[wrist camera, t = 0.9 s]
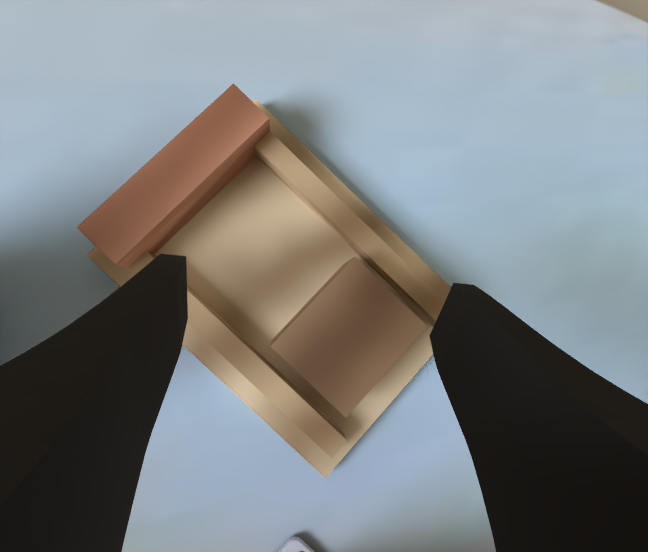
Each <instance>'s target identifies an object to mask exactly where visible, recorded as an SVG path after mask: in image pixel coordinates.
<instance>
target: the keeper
mask: <svg viewBox="0 0 648 552" xmlns="http://www.w3.org/2000/svg"><path fill="white" fill-rule="evenodd" d="M426 327H427V325H426V324H425V323H424V322H423V321H422V320H421V319H419V318H418V317H417V316H416V315H415V314H414V313H413V312H412V311H411V310H410V309H409V308H408V307H407V306H406V305H405V304H404V303H403V302H402V301H401V300H400V299H399V298H398V297H397V296H396V295H395V294H393V293H392V292H391V291H390V290H389V289H388V288H387V287H386V286H385V285H384V284H383V283H382V282H381V281H380V280H379V279H378V278H377V277H376V276H375V275H374V274H373V273H372V272H371V271H370V270H369V269H368V268H366V267H365V266H364V265H363V264H362V263H361V262H360V261H359V260H358V259H357V258H356V257H354V258H352V259H350V260H349V261H347V262H346V263H344V264H343V265H342V266H341V267H340V268H339V269H338V270H337V271H336V272H335V274H334V275H333V276H332V277H331V278H330V279H329V280H328V281H327V282H326V283H325V284H324V285H323V286H322V287H321V288H320V289H319V290H318V292H317V293H316V294H315V295H314V296H313V297H312V298H311V299H310V300H309V301H308V302H307V303H306V304H305V305H304V306H303V307H302V308H301V309H300V311H299V312H298V313H297V314H296V315H295V316H294V317H293V318H292V319H291V320H290V321H289V322H288V323H287V324H286V325H285V326H284V327H283V329H282V330H281V331H280V332H279V333H278V334H277V335H276V336H275V337H274V338H273V339H272V341H271V345H270V347H271V348H272V349H274V350H275V351H276V352H277V353H278V354H279V355H280V356H281V357H282V358H283V359H284V360H285V361H286V362H287V363H288V364H289V365H290V366H292V367H293V368H294V369H295V370H296V371H297V372H298V373H299V374H300V375H301V376H302V377H303V378H304V379H305V380H306V381H307V382H308V383H310V384H311V385H312V386H313V387H314V388H315V389H316V390H317V391H318V392H319V393H320V394H321V395H322V396H323V397H324V398H325V399H327V400H328V401H329V402H330V403H331V404H332V405H333V406H334V407H335V408H336V409H337V410H338V411H339V412H340V413H341V414H342V415H343V416H345V417H347V416H348V415H349V414H350V413H351V412H352V411H353V409H354V408H355V407H356V406H357V405H358V404H359V403H360V401H361V400H362V399H363V398H364V397H365V396H366V395H367V393H368V392H369V391H370V390H371V389H372V388H373V387H374V386H375V384H376V383H377V382H378V381H379V380H380V379H381V378H382V376H383V375H384V374H385V373H386V372H387V371H388V370H389V369H390V367H391V366H392V365H393V364H394V363H395V362H396V361H397V359H398V358H399V357H400V356H401V355H402V354H403V353H404V351H405V350H406V349H407V348H408V347H409V346H410V345H411V344H412V342H413V341H414V340H415V339H416V338H417V337H418V336H419V334H420V333H421V332H422V331H423V330H424V329H425V328H426Z"/></svg>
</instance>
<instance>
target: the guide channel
mask: <svg viewBox="0 0 648 552" xmlns="http://www.w3.org/2000/svg"><path fill="white" fill-rule="evenodd" d="M77 228H78V229H79V230H80V231H81V232H82V233H83V234H84V235H85V236H86V237H87V238H88V239H89V240H90V241H91V242H93V243H94V244H95V245H96V247H95V248H94V249H93V250H92V251H91V252H90V253H89V254H88V255H87V256H88V257H89V258H90V259H92V260H93V261H94V262H95V263H96V264H97V265H98V266H99V267H100V268H101V269H102V270H103V271H104V272H105V273H107V274H108V275H109V276H110V277H111V278H112V279H113V280H114V281H115V282H116V283H117V284H118V285H119V286H120V287H121V286H122V285H123V284H125V283H126V282H127V281H128V280H129V279H131V278H132V277H133V276H134V275H135V274H137V273H138V272H139V271H140V270H141V269H142V268H144V267H145V266H146V265H147V264H148V263H150V262H151V261H152V260H153V259H154V258H156V257H157V256H158V255H160V254H169V255H179V256H186V263H187V301H188V320H187V325H186V329H185V334H184V339H183V343H182V345H184V346H185V347H186V348H187V349H188V350H189V351H190V352H191V353H192V354H193V355H194V356H195V357H196V358H197V359H198V360H200V361H201V362H202V363H203V364H204V365H205V366H206V367H207V368H208V369H209V370H210V371H211V372H212V373H213V374H215V375H216V376H217V377H218V378H219V379H220V380H221V381H222V382H223V383H224V384H225V385H226V386H227V387H228V388H229V389H231V390H232V391H233V392H234V393H235V394H236V395H237V396H238V397H239V398H240V399H241V400H242V401H243V402H244V403H246V404H247V405H248V406H249V407H250V408H251V409H252V410H253V411H254V412H255V413H256V414H257V415H258V416H259V417H260V418H262V419H263V420H264V421H265V422H266V423H267V424H268V425H269V426H270V427H271V428H272V429H273V430H274V431H275V432H277V433H278V434H279V435H280V436H281V437H282V438H283V439H284V440H285V441H286V442H287V443H288V444H289V445H290V446H291V447H293V448H294V449H295V450H296V451H297V452H298V453H299V454H300V455H301V456H302V457H303V458H304V459H305V460H306V461H308V462H309V463H310V464H311V465H312V466H313V467H314V468H315V469H316V470H317V471H318V472H319V473H320V474H321V475H322V476H324V477H325V478H326V477H327V476H328V475H329V474H330V472H331V471H332V470H333V469H334V468H335V467H336V465H337V464H338V463H339V462H340V461H341V460H342V459H343V457H344V456H345V455H346V454H347V453H348V452H349V450H350V449H351V448H352V447H353V446H354V445H355V444H356V442H357V441H358V440H359V439H360V438H361V437H362V435H363V434H364V433H365V432H366V431H367V430H368V429H369V427H370V426H371V425H372V424H373V423H374V422H375V420H376V419H377V418H378V417H379V416H380V415H381V414H382V412H383V411H384V410H385V409H386V408H387V407H388V405H389V404H390V403H391V402H392V401H393V400H394V399H395V397H396V396H397V395H398V394H399V393H400V392H401V390H402V389H403V388H404V387H405V386H406V385H407V384H408V382H409V381H410V380H411V379H412V378H413V377H414V376H415V374H416V373H417V372H418V371H419V370H420V369H421V367H422V366H423V365H424V364H425V363H426V362H427V361H428V359H429V358H430V357H431V356H432V355H433V350H432V346H431V341H430V337H429V335H430V333H431V331H432V329H433V327H434V325H435V322H436V320H437V318H438V316H439V314H440V311H441V309H442V307H443V305H444V303H445V300H446V298H447V296H448V294H449V292H450V289H451V287H450V286H449V285H448V284H447V283H446V282H445V281H444V280H443V279H442V278H441V277H440V276H439V275H438V274H437V273H435V272H434V271H433V270H432V269H431V268H430V267H429V266H428V265H427V264H426V263H425V262H424V261H423V260H422V259H421V258H420V257H419V256H418V255H417V254H416V253H415V252H414V251H413V250H412V249H411V248H410V247H409V246H408V245H407V244H406V243H405V242H403V241H402V240H401V239H400V238H399V237H398V236H397V235H396V234H395V233H394V232H393V231H392V230H391V229H390V228H389V227H388V226H387V225H386V224H385V223H384V222H383V221H382V220H381V219H380V218H379V217H378V216H377V215H376V214H375V213H374V212H373V211H372V210H370V209H369V208H368V207H367V206H366V205H365V204H364V203H363V202H362V201H361V200H360V199H359V198H358V197H357V196H356V195H355V194H354V193H353V192H352V191H351V190H350V189H349V188H348V187H347V186H346V185H345V184H344V183H343V182H342V181H341V180H340V179H339V178H337V177H336V176H335V175H334V174H333V173H332V172H331V171H330V170H329V169H328V168H327V167H326V166H325V165H324V164H323V163H322V162H321V161H320V160H319V159H318V158H317V157H316V156H315V155H314V154H313V153H312V152H311V151H310V150H309V149H308V148H307V147H305V146H304V145H303V144H302V143H301V142H300V141H299V140H298V139H297V138H296V137H295V136H294V135H293V134H292V133H291V132H290V131H289V130H288V129H287V128H286V127H285V126H284V125H283V124H282V123H281V122H280V121H279V120H278V119H277V118H276V117H275V116H274V115H272V114H271V113H270V112H269V111H268V110H267V109H266V108H265V107H264V106H263V105H262V104H261V103H260V102H259V101H258V100H257V99H256V98H255V99H254V100H252V101H251V100H250V99H249V98H248V97H247V96H246V95H245V94H244V93H243V92H242V91H241V90H240V89H239V88H238V87H237V86H235V85H234V84H232V85H231V86H230V87H229V88H228V89H227V90H226V91H225V92H224V93H223V94H222V95H220V96H219V97H218V98H217V99H216V100H215V101H214V102H213V103H212V104H211V105H210V106H208V107H207V108H206V109H205V110H204V111H203V112H202V113H201V114H200V115H199V116H198V117H197V118H195V119H194V120H193V121H192V122H191V123H190V124H189V125H188V126H187V127H186V128H185V129H183V130H182V131H181V132H180V133H179V134H178V135H177V136H176V137H175V138H174V139H173V140H171V141H170V142H169V143H168V144H167V145H166V146H165V147H164V148H163V149H162V150H161V151H159V152H158V153H157V154H156V155H155V156H154V157H153V158H152V159H151V160H150V161H149V162H147V163H146V164H145V165H144V166H143V167H142V168H141V169H140V170H139V171H138V172H137V173H136V174H134V175H133V176H132V177H131V178H130V179H129V180H128V181H127V182H126V183H125V184H124V185H122V186H121V187H120V188H119V189H118V190H117V191H116V192H115V193H114V194H113V195H112V196H110V197H109V198H108V199H107V200H106V201H105V202H104V203H103V204H102V205H101V206H100V207H98V208H97V209H96V210H95V211H94V212H93V213H92V214H91V215H90V216H89V217H88V218H86V219H85V220H84V221H83V222H82V223H81V224H80V225H79V226H78V227H77ZM354 257H356V258H357V259H358V260H359V261H360V262H361V263H362V264H363V265H364V266H365V267H366V268H368V269H369V270H370V271H371V272H372V273H373V274H374V275H375V276H376V277H377V278H378V279H379V280H380V281H381V282H382V283H383V284H384V285H385V286H386V287H387V288H388V289H389V290H390V291H391V292H392V293H393V294H395V295H396V296H397V297H398V298H399V299H400V300H401V301H402V302H403V303H404V304H405V305H406V306H407V307H408V308H409V309H410V310H411V311H412V312H413V313H414V314H415V315H416V316H417V317H418V318H419V319H421V320H422V321H423V322H424V323H425V324H426V325H427V327H426V328H425V329H424V330H423V331H422V332H421V333H420V334H419V336H418V337H417V338H416V339H415V340H414V341H413V342H412V344H411V345H410V346H409V347H408V348H407V349H406V350H405V351H404V353H403V354H402V355H401V356H400V357H399V358H398V359H397V361H396V362H395V363H394V364H393V365H392V366H391V367H390V369H389V370H388V371H387V372H386V373H385V374H384V375H383V376H382V378H381V379H380V380H379V381H378V382H377V383H376V384H375V386H374V387H373V388H372V389H371V390H370V391H369V392H368V393H367V395H366V396H365V397H364V398H363V399H362V400H361V401H360V403H359V404H358V405H357V406H356V407H355V408H354V409H353V411H352V412H351V413H350V414H349V415H348V416H347V417H345V416H343V415H342V414H341V413H340V412H339V411H338V410H337V409H336V408H335V407H334V406H333V405H332V404H331V403H330V402H329V401H328V400H327V399H325V398H324V397H323V396H322V395H321V394H320V393H319V392H318V391H317V390H316V389H315V388H314V387H313V386H312V385H311V384H310V383H308V382H307V381H306V380H305V379H304V378H303V377H302V376H301V375H300V374H299V373H298V372H297V371H296V370H295V369H294V368H293V367H292V366H290V365H289V364H288V363H287V362H286V361H285V360H284V359H283V358H282V357H281V356H280V355H279V354H278V353H277V352H276V351H275V350H274V349H272V348H271V347H270V345H271V341H272V339H273V338H274V337H275V336H276V335H277V334H278V333H279V332H280V331H281V330H282V329H283V327H284V326H285V325H286V324H287V323H288V322H289V321H290V320H291V319H292V318H293V317H294V316H295V315H296V314H297V313H298V312H299V311H300V309H301V308H302V307H303V306H304V305H305V304H306V303H307V302H308V301H309V300H310V299H311V298H312V297H313V296H314V295H315V294H316V293H317V292H318V290H319V289H320V288H321V287H322V286H323V285H324V284H325V283H326V282H327V281H328V280H329V279H330V278H331V277H332V276H333V275H334V274H335V272H336V271H337V270H338V269H339V268H340V267H341V266H342V265H343V264H344V263H346V262H347V261H349V260H350V259H352V258H354Z"/></svg>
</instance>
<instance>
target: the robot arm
mask: <svg viewBox="0 0 648 552" xmlns="http://www.w3.org/2000/svg"><path fill="white" fill-rule="evenodd" d="M187 320H188V301H187V263H186V256H179V255H169V254H160V255H158V256H157V257H156V258H154V259H153V260H152V261H151V262H150V263H148V264H147V265H146V266H145V267H144V268H142V269H141V270H140V271H139V272H138V273H137V274H135V275H134V276H133V277H132V278H131V279H129V280H128V281H127V282H126V283H125V284H123V285H122V286H121V287H120V288H118V289H117V290H116V291H114V292H113V293H112V294H111V295H109V296H108V297H107V298H106V299H104V300H103V301H102V302H100V303H99V304H98V305H96V306H95V307H94V308H92V309H91V310H89V311H88V312H87V313H85V314H84V315H82V316H81V317H80V318H78V319H77V320H75V321H74V322H73V323H71V324H70V325H68V326H67V327H65V328H64V329H62V330H61V331H59V332H58V333H56V334H55V335H53V336H51V337H50V338H48V339H47V340H45V341H43V342H42V343H40V344H38V345H37V346H35V347H33V348H31V349H30V350H28V351H26V352H25V353H23V354H21V355H19V356H18V357H16V358H14V359H12V360H11V361H9V362H7V363H5V364H3V365H1V366H0V552H121V551H122V546H123V542H124V538H125V533H126V529H127V525H128V521H129V517H130V513H131V508H132V504H133V500H134V496H135V492H136V488H137V484H138V480H139V476H140V472H141V468H142V464H143V460H144V456H145V452H146V449H147V446H148V442H149V439H150V436H151V433H152V430H153V427H154V424H155V422H156V419H157V416H158V413H159V411H160V408H161V405H162V402H163V400H164V397H165V394H166V391H167V388H168V386H169V383H170V380H171V377H172V375H173V372H174V369H175V366H176V363H177V361H178V358H179V355H180V352H181V347H182V343H183V339H184V334H185V329H186V325H187ZM429 337H430V341H431V346H432V350H433V355H434V358H435V362H436V366H437V369H438V372H439V375H440V377H441V380H442V382H443V385H444V387H445V390H446V392H447V395H448V397H449V400H450V402H451V405H452V407H453V410H454V412H455V415H456V417H457V420H458V422H459V425H460V427H461V430H462V432H463V435H464V437H465V439H466V442H467V445H468V448H469V451H470V453H471V456H472V460H473V463H474V467H475V470H476V474H477V477H478V480H479V484H480V487H481V491H482V495H483V498H484V502H485V506H486V510H487V514H488V518H489V522H490V526H491V530H492V534H493V539H494V543H495V548H496V552H648V404H647V403H645V402H643V401H641V400H640V399H638V398H636V397H634V396H633V395H631V394H629V393H627V392H626V391H624V390H622V389H621V388H619V387H617V386H616V385H614V384H613V383H611V382H609V381H608V380H606V379H604V378H603V377H601V376H600V375H598V374H596V373H595V372H593V371H592V370H590V369H589V368H587V367H586V366H584V365H583V364H581V363H580V362H578V361H577V360H575V359H574V358H572V357H571V356H570V355H568V354H567V353H565V352H564V351H562V350H561V349H560V348H558V347H557V346H555V345H554V344H553V343H551V342H550V341H549V340H547V339H546V338H545V337H543V336H542V335H541V334H539V333H538V332H537V331H535V330H534V329H533V328H531V327H530V326H529V325H527V324H526V323H525V322H523V321H522V320H521V319H520V318H518V317H517V316H516V315H514V314H513V313H512V312H510V311H509V310H508V309H507V308H505V307H504V306H503V305H501V304H500V303H499V302H497V301H496V300H495V299H493V298H492V297H491V296H489V295H488V294H486V293H485V292H484V291H482V290H481V289H479V288H478V287H476V286H474V285H469V284H459V283H453V285H452V287H451V289H450V292H449V294H448V296H447V298H446V300H445V303H444V305H443V307H442V309H441V311H440V314H439V316H438V318H437V320H436V322H435V325H434V327H433V329H432V331H431V333H430V335H429ZM299 551H304V552H315V551H314V550H312V549H311V548H310V547H309V546H308V545H307V544H306V543H305V542H304V541H303V540H302V539H300V538H299V537H292V538H290V539H289V540H288V541H287V542H286V543H285V544H284V546H283V547H282V548H281V549H280V550H279V551H278V552H299Z"/></svg>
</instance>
